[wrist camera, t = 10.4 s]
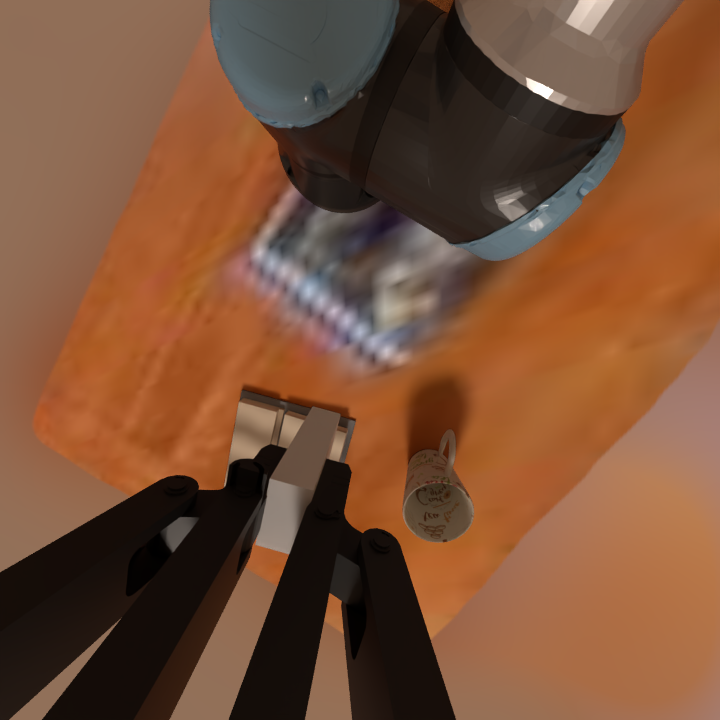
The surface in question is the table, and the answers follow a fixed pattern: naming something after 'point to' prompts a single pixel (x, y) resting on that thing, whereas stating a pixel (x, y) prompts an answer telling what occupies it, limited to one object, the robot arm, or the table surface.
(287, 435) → the plank
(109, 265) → the table surface
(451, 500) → the mug
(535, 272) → the table surface
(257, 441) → the laid row
